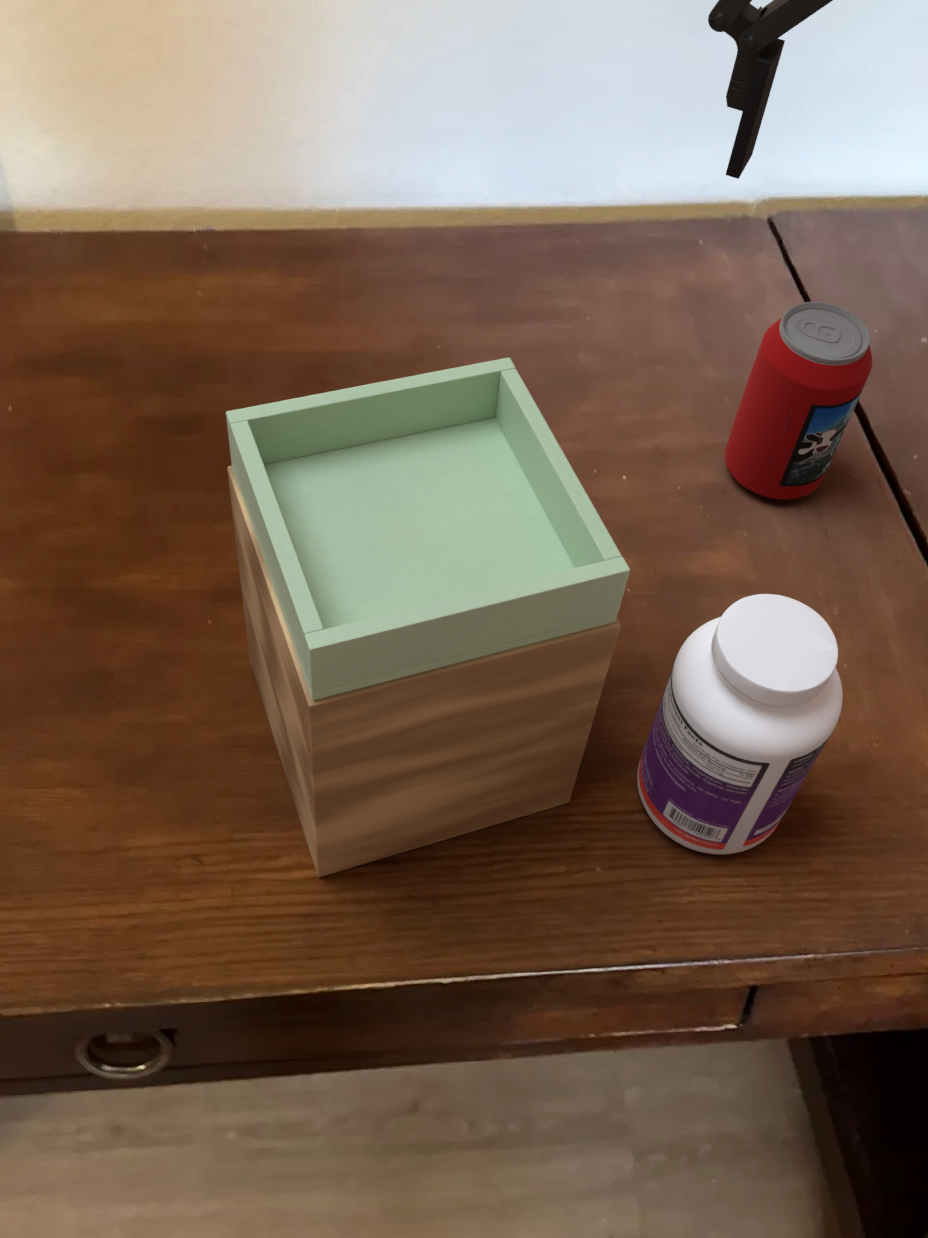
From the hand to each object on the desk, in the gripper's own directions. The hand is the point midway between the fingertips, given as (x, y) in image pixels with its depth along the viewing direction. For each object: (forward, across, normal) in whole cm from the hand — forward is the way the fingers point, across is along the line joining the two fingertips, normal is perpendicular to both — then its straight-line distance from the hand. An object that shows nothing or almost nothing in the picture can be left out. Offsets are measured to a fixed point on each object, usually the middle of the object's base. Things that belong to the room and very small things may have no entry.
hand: (858, 202), depth 66 cm
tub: (+4, +12, +30) cm, 32 cm away
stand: (+20, +12, +30) cm, 38 cm away
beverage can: (+20, -1, 0) cm, 21 cm away
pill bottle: (+20, -4, +26) cm, 33 cm away
